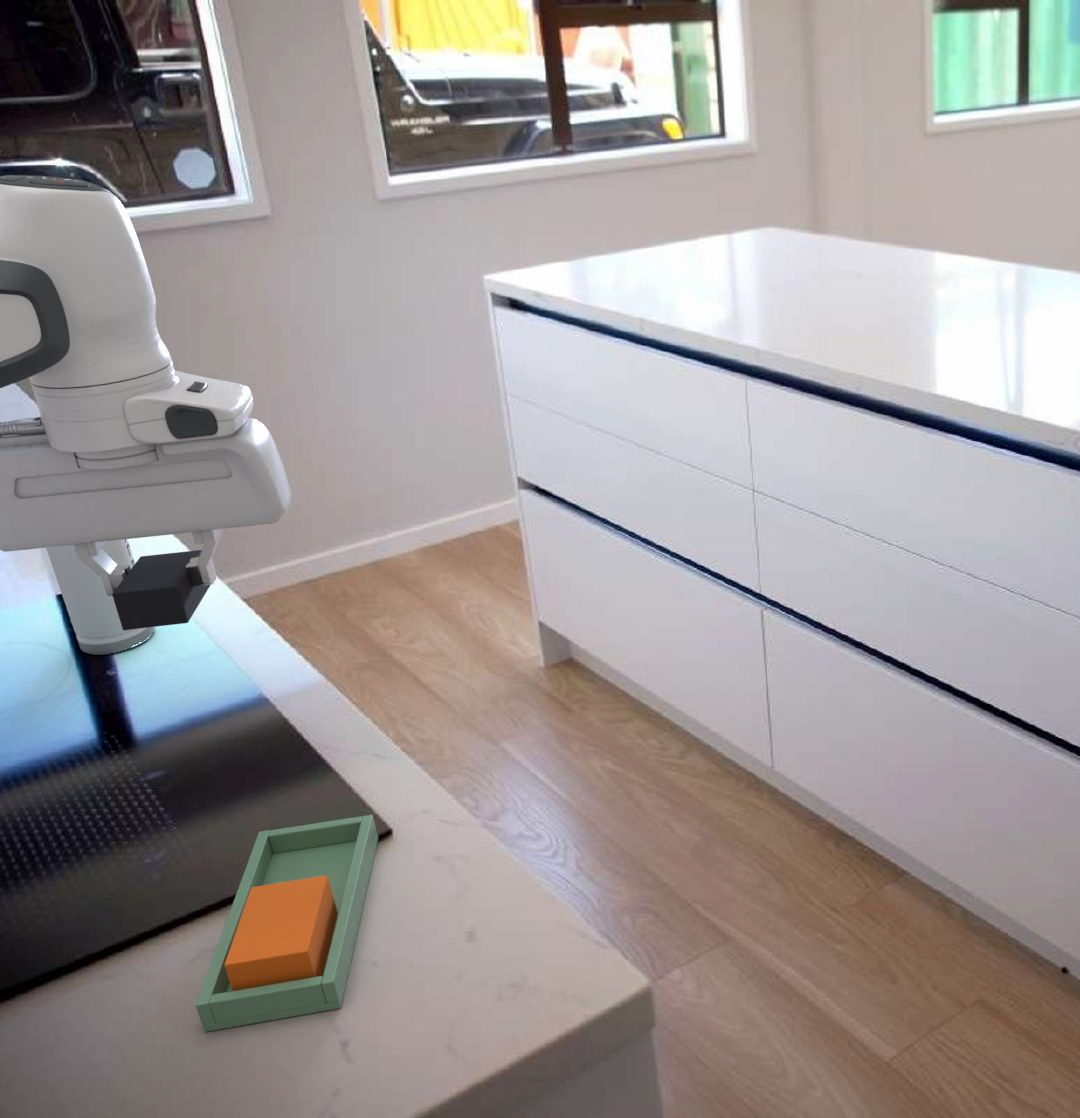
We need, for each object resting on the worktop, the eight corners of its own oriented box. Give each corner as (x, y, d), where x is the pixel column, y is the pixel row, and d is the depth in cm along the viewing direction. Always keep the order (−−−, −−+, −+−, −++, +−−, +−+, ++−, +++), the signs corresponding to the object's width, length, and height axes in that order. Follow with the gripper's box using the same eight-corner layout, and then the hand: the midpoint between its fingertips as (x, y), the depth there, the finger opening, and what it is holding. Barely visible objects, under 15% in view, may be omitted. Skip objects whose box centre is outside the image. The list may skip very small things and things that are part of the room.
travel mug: (61, 653, 116) (-11, 446, 107) (119, 621, 121) (55, 421, 113) (114, 661, 114) (44, 450, 105) (171, 627, 119) (109, 425, 111)
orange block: (236, 1005, 73) (223, 965, 71) (262, 925, 79) (250, 886, 78) (319, 991, 73) (307, 951, 72) (338, 913, 80) (327, 874, 78)
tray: (204, 1032, 72) (195, 1005, 71) (265, 855, 86) (258, 831, 86) (341, 1008, 73) (333, 981, 72) (378, 838, 87) (372, 814, 87)
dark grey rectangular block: (122, 630, 93) (111, 593, 92) (150, 591, 99) (140, 556, 98) (188, 623, 94) (177, 586, 92) (211, 584, 100) (202, 549, 99)
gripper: (-67, 439, 85) (-4, 622, 91) (254, 409, 89) (296, 588, 94) (-28, 412, 91) (29, 586, 97) (272, 385, 94) (311, 555, 100)
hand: (163, 587), depth 96 cm, fingers closed on dark grey rectangular block, 4 cm apart
